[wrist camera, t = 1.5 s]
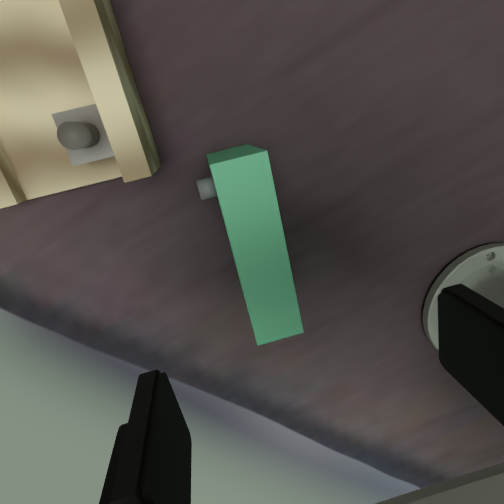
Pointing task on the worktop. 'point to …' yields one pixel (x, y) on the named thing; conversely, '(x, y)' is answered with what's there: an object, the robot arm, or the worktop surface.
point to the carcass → (67, 100)
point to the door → (255, 238)
